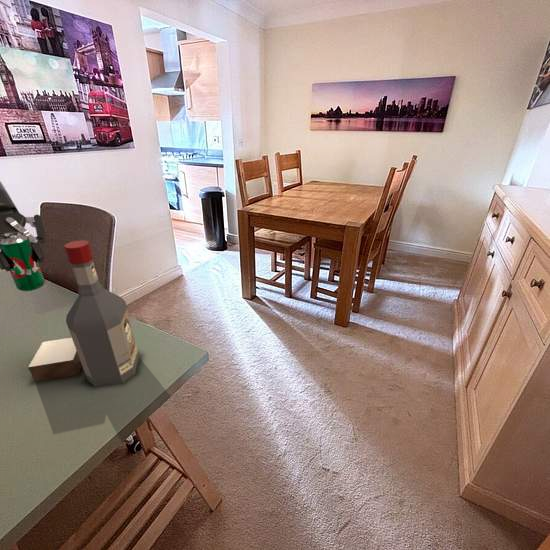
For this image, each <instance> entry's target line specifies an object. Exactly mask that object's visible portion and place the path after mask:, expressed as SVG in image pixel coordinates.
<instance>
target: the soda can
mask: <svg viewBox="0 0 550 550" xmlns="http://www.w3.org/2000/svg"><path fill="white" fill-rule="evenodd" d="M0 251H1V252H2V253H3V255H4V257H5V259H6V260H7V262H8V264H9V265H10V268H11V271H9V273H10V275H11V278H12V280H13V282H14V285H15V287H16V289H17V290H18V291H22V292H32V291H35V290H38V289H40V288H42V287H43V286H44V285H45V284H46V279H45V277H44V274H43V272H42V269H41V267H40V266H41V265H40V263H39V262H38V260H37V258H36V255H35V253H34V250H33V247H32V245H31V242H30V240H29V237H27V236H26V235H25V233H24V232H11V233H6V234H3V235H0Z"/></svg>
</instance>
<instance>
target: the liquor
mask: <svg viewBox="0 0 550 550" xmlns="http://www.w3.org/2000/svg"><path fill="white" fill-rule="evenodd" d="M64 250H65V253H66V256H67V259H68V262H69V264H70V265H71V269H72V271H73V274H74V277H75V281H76V284H77V288H78V290H77V293H78V296H77V298H76V299H75V301H74V302H73V304H72V306H71V307H70V309H69V311H68V312H67V314H66V318H65V324H66V326H67V328H68V331H69V334H70V338H72V339H73V342H74V345H75V347H76V350H77V353H78V356H79V358H80V361H81V364H82V369H83V372H84V374H85V377H86V379H87V381H88V382H89V383H90V384H92V385H93V386H94V387H100V386H107V385H114V384H122V383H125V381H127V380H129V379H130V378H132V377H134V375H135V374H136V372H137V368H138V367H137V366H138V363H139V359H140V355H139V349H138V347H137V342H136V339H135V335H134V331H133V327H132V322H131V318H130V315H129V310H128V307H127V302H126V301H125V299H124V298H123V297H121V296H119V295H118V294H116V293H113V292H112V291H109V290H108V289H106V288H104V287H103V284H102V283H101V282H100V279H99V275H98V273H97V270H96V267H95V263H94V255H93V252H92V249H91V246H90V242H89V241H88V240H83V239H82V240H74V241H70V242H67V243H65V244H64Z"/></svg>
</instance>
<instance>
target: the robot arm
mask: <svg viewBox="0 0 550 550" xmlns="http://www.w3.org/2000/svg"><path fill="white" fill-rule="evenodd" d="M26 224H29V225H30V227H32V228H35V233H36V236H34V235H32V234H31V233H30V231H29V230H27V229H26ZM11 232H24V233H25V235H26V236H27V237H29V240H30V242H31V245H32V247H33V250H34V253H35V255H36V258H37V261H38V263H39V264H41V263H44V260H45V255H46V254H45V252H44V250H43V248H42V247H41V244H45V243H46V236H47V235H46V232H45V228H44V223H43V220H42V217H41V215H40V214H34V215H33V216H25V215H24V214H22V213H20V211H19V210H18V208H17V206H16V204H15V203H14V201H13V200H12V198H11V196H10V194H9V193H8V191H7V189H6V187H5V186H4V184H3V183H2V181H0V235H3V234H6V233H11ZM0 270H1V271H3V270H5V272H10V271H11V268H10V265H9V264H8V262H7V260H6V259H5V257H4V255H3V253H2V252H1V250H0Z"/></svg>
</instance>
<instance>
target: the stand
mask: <svg viewBox="0 0 550 550" xmlns="http://www.w3.org/2000/svg"><path fill="white" fill-rule="evenodd" d="M82 368H83V366H82V364H81V361H80V358H79V356H78V353H77V350H76V347H75V345H74V342H73V339H72V337H68V338H61V339H60V338H59V339H53V340H47V341H42V342H41V344H40V346H39V347H38V350H37V351H36V353H35V354H34V357H33V358H32V360H31V362H30V363H29V365H28V366H27V369H28V371H29V372H30V375H31V376H32V379H33V381H34V382H35V383H38V382H45V381H49V380H56V379H60V378H66V377H73V376H77V375H79V374H80V372H81V370H82Z"/></svg>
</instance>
